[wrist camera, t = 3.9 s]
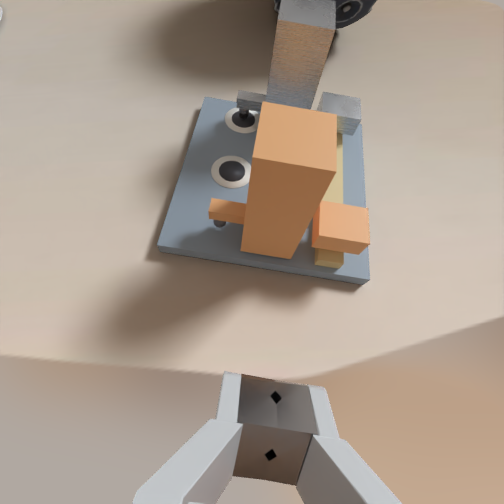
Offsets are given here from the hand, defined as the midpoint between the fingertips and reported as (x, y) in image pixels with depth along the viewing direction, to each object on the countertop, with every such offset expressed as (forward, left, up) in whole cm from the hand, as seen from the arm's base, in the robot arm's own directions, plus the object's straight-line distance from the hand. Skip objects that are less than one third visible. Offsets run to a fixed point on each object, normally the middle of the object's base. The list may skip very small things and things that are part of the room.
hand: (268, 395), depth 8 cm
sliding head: (+1, +12, -10) cm, 16 cm away
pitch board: (0, +18, -12) cm, 22 cm away
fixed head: (+1, +25, -11) cm, 27 cm away
